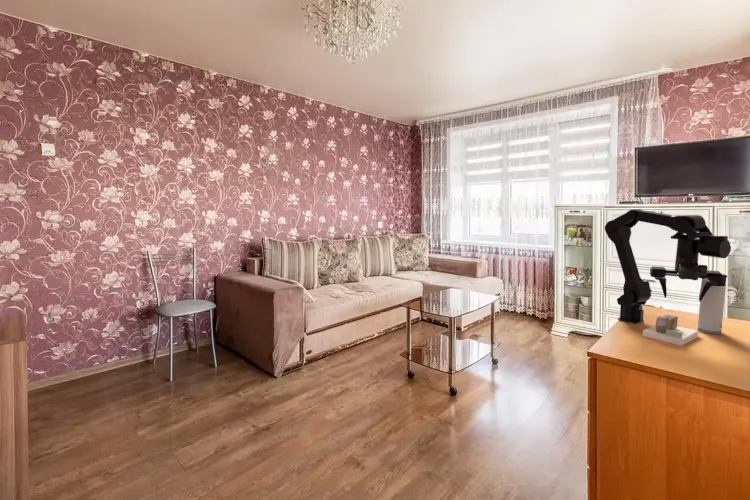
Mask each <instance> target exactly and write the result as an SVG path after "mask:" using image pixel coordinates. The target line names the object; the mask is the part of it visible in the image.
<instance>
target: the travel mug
mask: <svg viewBox="0 0 750 500" xmlns="http://www.w3.org/2000/svg"><path fill="white" fill-rule="evenodd" d="M722 274H723V273H722ZM723 275H724V282H723V283H718V282H717V283H718V284H717V285H713V286H711V287H710V288H709V289H708V291H707V292H706V294H705V295H704V297H703V299H702V300H701V301H699V307H698V318H697V320H698V321H697V331H698V332H701V333H704V334H708V335H719V334H722V331H723V330H722V329H723V322H724V321H723V319H724V308H725V298H726V297H725V296H726V285H727V278H728V275H727V274H723ZM703 279H705V278H701V281H702V280H703ZM700 284H702V282H701V283H700Z"/></svg>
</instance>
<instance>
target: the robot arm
mask: <svg viewBox="0 0 750 500" xmlns="http://www.w3.org/2000/svg"><path fill="white" fill-rule="evenodd" d="M639 222H642V223H647V224H653V225H657V226H664V227H667V228H669V229H671V230H673V231H675V232H676V233H675V234H673V235H671V236H670V239H672V240H677V244H676V252H675V262H674V270H671V269H666V268H665V267H664V266H651V267H650V269H649V275H650V277H651V278H654V279H655V281H656V280H657V281H659V283H660V286H661V290H662V293H663V296H664V297H663V298H666V299H667V291H668V290H667V278H666V276H668V277H669V276H671V277H678V279H680V280H692V281H697V280H699V279H701V283H702V284H701V283H700V284H701V285H700V290H699V294H698V301H699V302H700V301H701V300H702V299H703V297H704V295H705V294H706V292H707V291H708V289H709V288H710V287H711V286H713V285H717V284H718V283H723V282H724V275H725V274H724V275H723V273H721V272H720V271H718V270H709V269H708V265H707V264H699V263H698V261H699V254H700V256H703V257H709V258H710V257H712V258H719V259H726V258H728V256H729V255H730V254H731V250H732V246H731V243H730V241H729V240H728V238H729V236H727V235H714V234H713V233H712V231H711V230H710V229H709V227H708V225H707V224H706V220H705V219H704V217H703V216H701V215H699V214H698V215H697V214H693V215H692V214H690V215H689V214H686V215H684V214H683V215H681V214H680V215H679V214H678V215H677V214H676V215H674V214H667V213H662V212H654V211H648V210H643V209H641V208H638V209H636V208H635V209H634V208H633V209H630V210H628V211H627V212H625V213H623V214H622V215H620V216H618V217H616V218H614V219H612V220H609V221H607V223H606V224H605V225H604V231H605V233H606V235H607V237H608V239H609V240H610V241H611V242H612V243H613V244H614V246H615V250H616V253H617V257H618V260H619V264H620V266H621V270H622V274H623V277H624V284H623V288H622V290H623V294H622V295H620V296H619V297H618V298H616V301H617V305H619V306H620V307H619V308H620V311H619V317H618V318H617V320H618V321H622V322H628V323H631V324H639V323H641V322H644V320H645V319H644V311H645V310H644V309H643V305H646V304H647V301H649V300H650V298H652V293H653V290H652V289H651V285H650V282H649V281H648V280H645V281H644V280H643V279H642V278H641V275H640V273H639V269H638V266H637V263H636V259H635V255H634V253H633V248H632V246H631V242H630V240H631V235H632V228H633V227H635V226H636V225H637V224H638V223H639ZM702 278H705V279H703V280H702ZM717 282H718V283H717ZM620 319H621V320H620Z"/></svg>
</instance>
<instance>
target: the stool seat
mask: <svg viewBox="0 0 750 500" xmlns="http://www.w3.org/2000/svg"><path fill="white" fill-rule="evenodd" d="M641 336H642V337H645V338H649V339H654V340H657V341H661V342H665V343H669V344H674V345H677V346H684V345H686V344H687V343H689V342H691V341H693V340H695V339H696V338H698V337H699V330H698V329H697V330H696V329H692V328H687V327H684V326H683V327H682V326H678V325H677V328H675V329H673V330H670V329H666V333H662V332H658V331H656V324H654V325H652V326H650V327H647V328H645V329H643V330H642V335H641Z"/></svg>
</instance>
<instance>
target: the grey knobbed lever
mask: <svg viewBox="0 0 750 500" xmlns="http://www.w3.org/2000/svg"><path fill="white" fill-rule="evenodd" d="M655 320H656V322H655V325H656V331H658V332H662V333H666V329H670V330H673V329H675V328H677V326H678V321H679V320H678V316H677V315H672V314H668V313H667V314H665V315H663V316H661V315H660V316H657V317H656V319H655Z"/></svg>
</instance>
